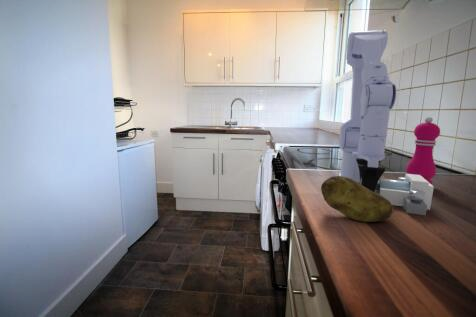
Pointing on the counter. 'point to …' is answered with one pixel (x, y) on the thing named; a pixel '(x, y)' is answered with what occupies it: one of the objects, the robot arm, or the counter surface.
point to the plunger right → (416, 196)
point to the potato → (355, 200)
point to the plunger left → (401, 178)
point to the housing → (402, 196)
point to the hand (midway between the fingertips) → (366, 190)
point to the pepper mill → (424, 150)
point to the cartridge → (392, 185)
